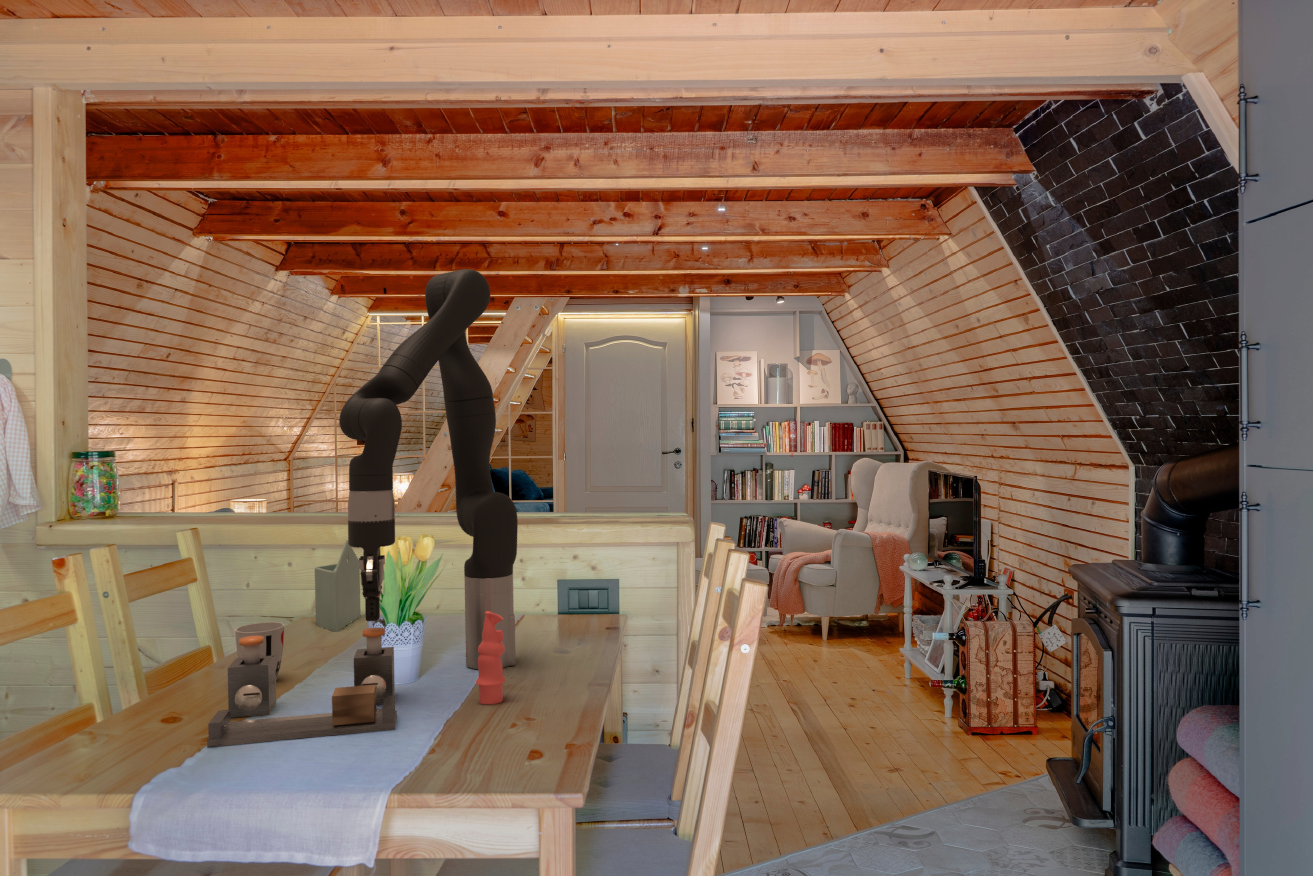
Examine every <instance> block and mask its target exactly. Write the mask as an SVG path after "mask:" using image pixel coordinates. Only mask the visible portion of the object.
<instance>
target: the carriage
mask: <svg viewBox="0 0 1313 876" xmlns="http://www.w3.org/2000/svg"><path fill="white" fill-rule="evenodd" d="M375 709H378V708H377V705H376V685H364V686H354V685H353V686H339V687H335V688H334V690H333V693H332V696H331V711H332V712H331V713H332V724H333V725H344V724H355V723H366V722H375Z"/></svg>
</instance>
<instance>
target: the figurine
mask: <svg viewBox="0 0 1313 876" xmlns="http://www.w3.org/2000/svg"><path fill="white" fill-rule="evenodd" d="M485 615H486V616H485V620H484V627H483V631H482V642H481V644H480V645H479V647H478V653H479V654H480V656H479V658H478V669H477V670H478V677H477V679H476V681H475V684H476V685H477V686H478V702H479V703H480V704H483V705H497V704H499V703H502V701H504V697H503V695H504V694H503V693H504V692H503V691H504V689H503V686H504V685H503V684H504V683H505V682H506V677H505V675H504V667H503V666H502V661H501V659H500V656H502V654H503V653H504V651H505V646H504V644H503V643H502V642H501V641H503V639H504V638H503V632H502V630H496V628H495V625H496V624H497V623H498V622H500V621H501V620H504V619H503V618H502V617H501V616H500V615H498V614H495V613H492V612H491V611H486V612H485Z"/></svg>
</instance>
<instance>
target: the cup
mask: <svg viewBox="0 0 1313 876" xmlns="http://www.w3.org/2000/svg"><path fill="white" fill-rule="evenodd" d="M234 635H235V646H236V654H237V658H244V646H241V645H239V639H240V638H243V637H247V636H263V637H264V642H263V643H262V644H260V656H274V655H275V666H276V681H277V678H278V676H279V672H280V669H281V665H282V658H283V652H284V640H285V639H284V638H285V637H284V635H285V624H284V623H282V622H276V621H273V622H272V621H268V622H265V621H264V622H257V623H250V624H245V625H241V626H239V627H236V628H234Z"/></svg>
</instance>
